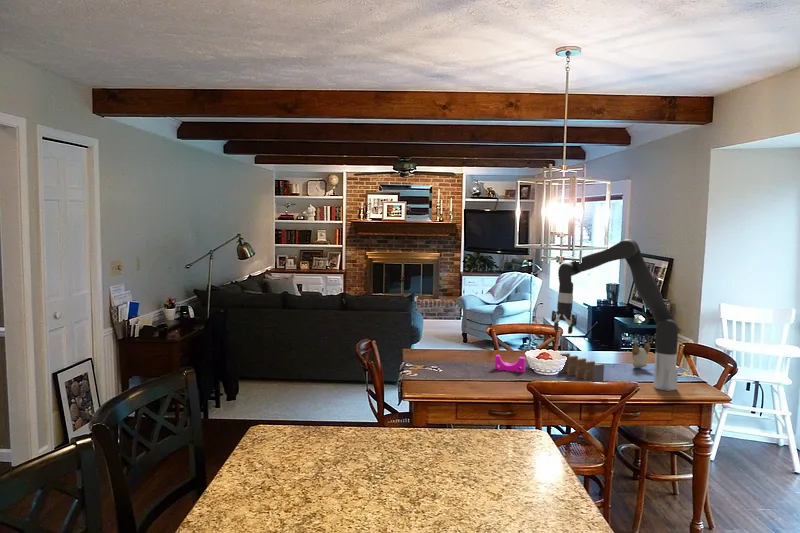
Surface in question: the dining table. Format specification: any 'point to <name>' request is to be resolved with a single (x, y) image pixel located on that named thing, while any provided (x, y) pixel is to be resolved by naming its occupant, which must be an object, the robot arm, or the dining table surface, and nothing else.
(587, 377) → the walnut domino
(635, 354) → the ceramic sculpture
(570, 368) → the walnut domino
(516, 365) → the toy block
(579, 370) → the walnut domino
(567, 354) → the walnut domino
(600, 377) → the black domino
